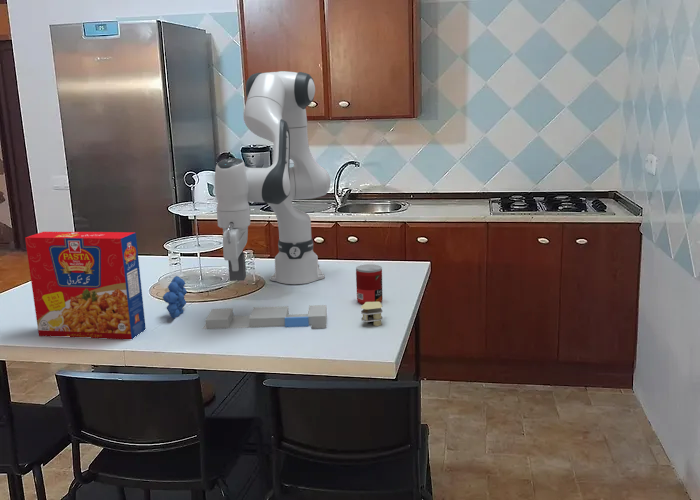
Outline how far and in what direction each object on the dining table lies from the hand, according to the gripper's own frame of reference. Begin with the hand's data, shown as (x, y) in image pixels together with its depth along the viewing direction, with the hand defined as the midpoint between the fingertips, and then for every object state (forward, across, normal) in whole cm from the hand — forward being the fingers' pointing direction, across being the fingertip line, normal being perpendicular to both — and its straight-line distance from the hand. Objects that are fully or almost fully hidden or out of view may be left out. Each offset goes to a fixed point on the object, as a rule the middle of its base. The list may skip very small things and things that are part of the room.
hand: (237, 267), depth 192 cm
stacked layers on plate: (+17, -3, -37) cm, 41 cm away
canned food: (+17, +18, -37) cm, 44 cm away
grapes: (+17, +9, +21) cm, 28 cm away
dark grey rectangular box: (+3, 0, 0) cm, 3 cm away
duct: (+17, -1, -7) cm, 18 cm away
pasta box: (+17, -3, +41) cm, 44 cm away
